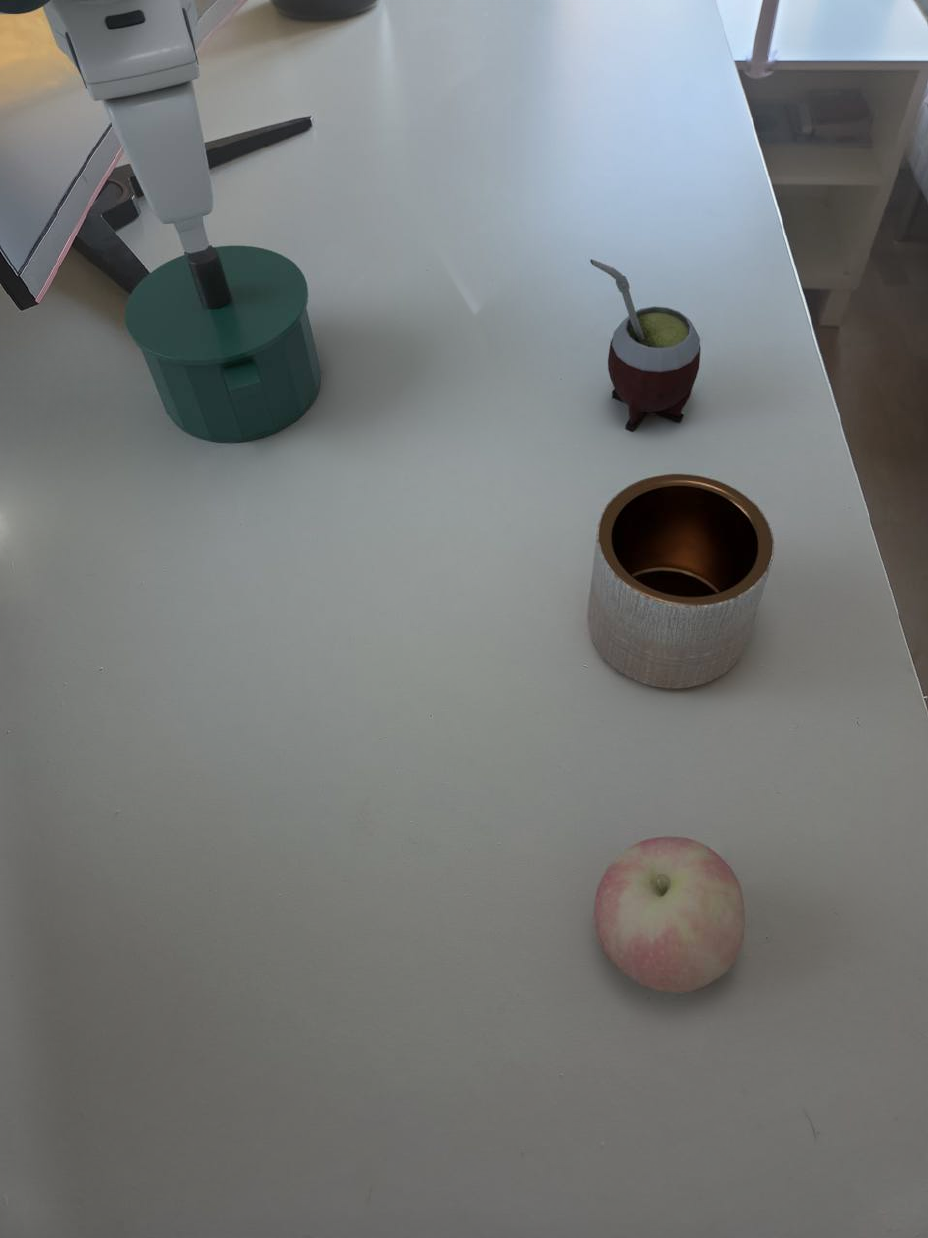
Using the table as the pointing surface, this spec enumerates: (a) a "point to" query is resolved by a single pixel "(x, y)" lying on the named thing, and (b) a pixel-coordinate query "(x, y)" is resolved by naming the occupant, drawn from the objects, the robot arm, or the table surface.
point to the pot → (242, 389)
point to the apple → (670, 914)
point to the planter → (677, 579)
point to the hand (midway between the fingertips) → (184, 210)
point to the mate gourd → (652, 358)
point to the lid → (216, 305)
